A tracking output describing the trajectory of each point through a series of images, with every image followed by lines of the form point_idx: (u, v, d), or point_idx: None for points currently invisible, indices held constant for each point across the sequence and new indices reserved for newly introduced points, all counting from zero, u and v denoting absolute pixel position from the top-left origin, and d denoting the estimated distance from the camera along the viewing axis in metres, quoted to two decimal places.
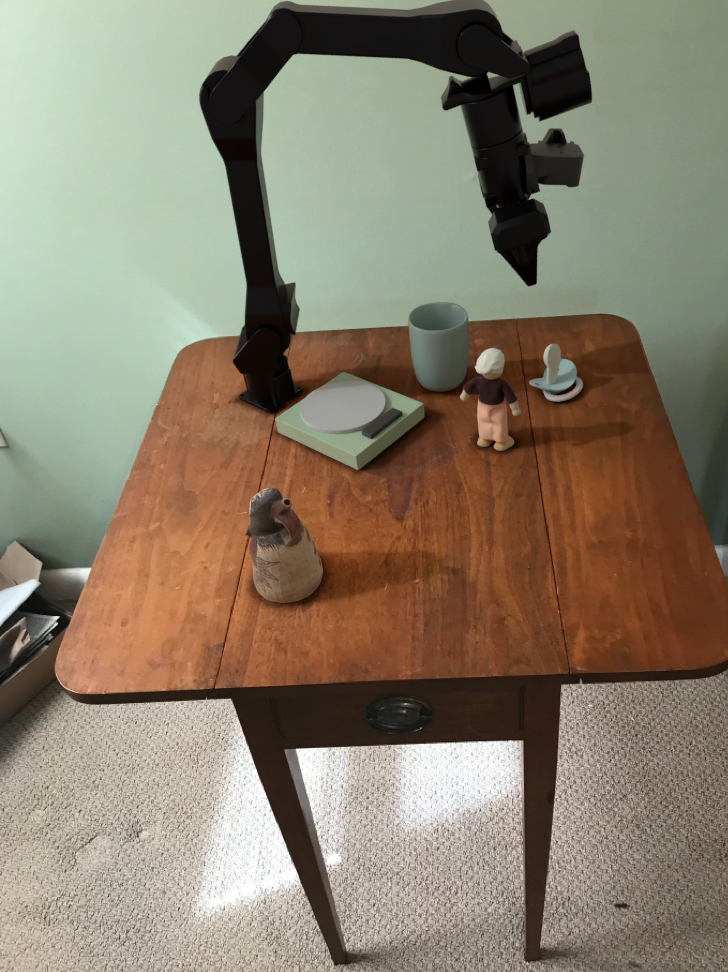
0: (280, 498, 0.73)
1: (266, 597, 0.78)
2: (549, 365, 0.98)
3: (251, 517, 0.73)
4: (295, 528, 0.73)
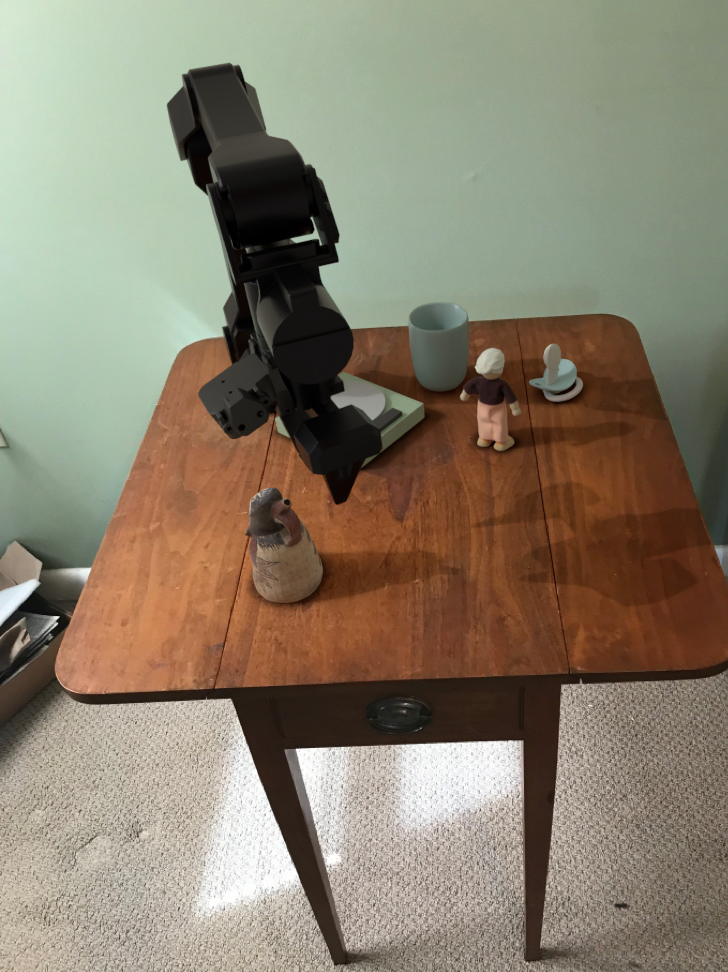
0: (280, 498, 0.73)
1: (266, 597, 0.78)
2: (549, 365, 0.98)
3: (251, 517, 0.73)
4: (295, 528, 0.73)
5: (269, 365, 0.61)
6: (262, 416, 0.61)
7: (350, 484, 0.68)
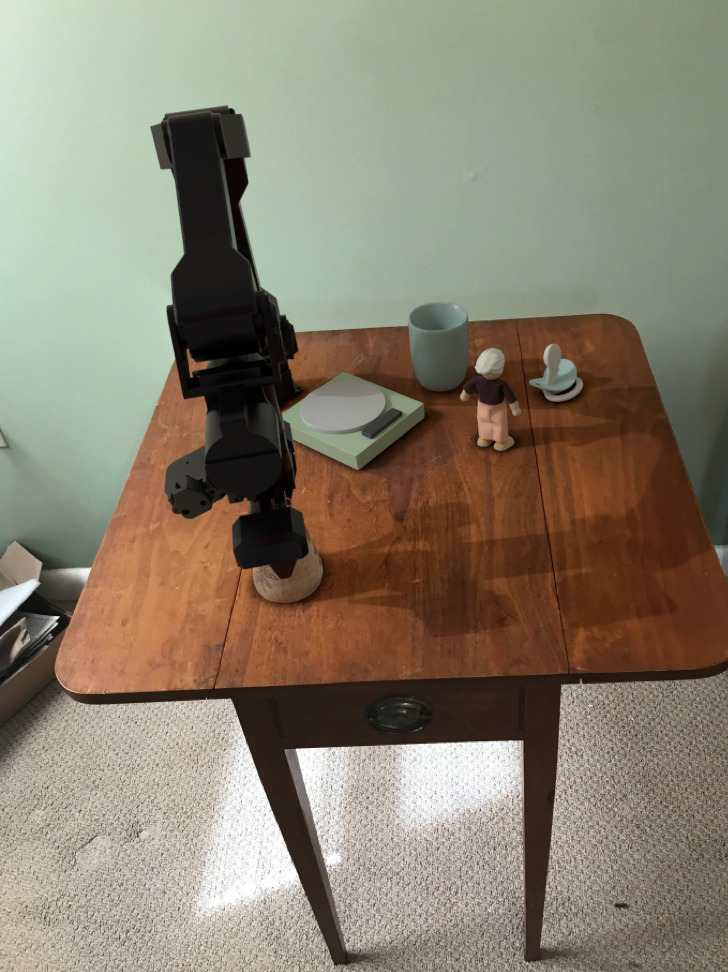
0: None
1: (266, 597, 0.78)
2: (549, 365, 0.98)
3: None
4: None
5: None
6: (205, 505, 0.66)
7: (291, 565, 0.73)
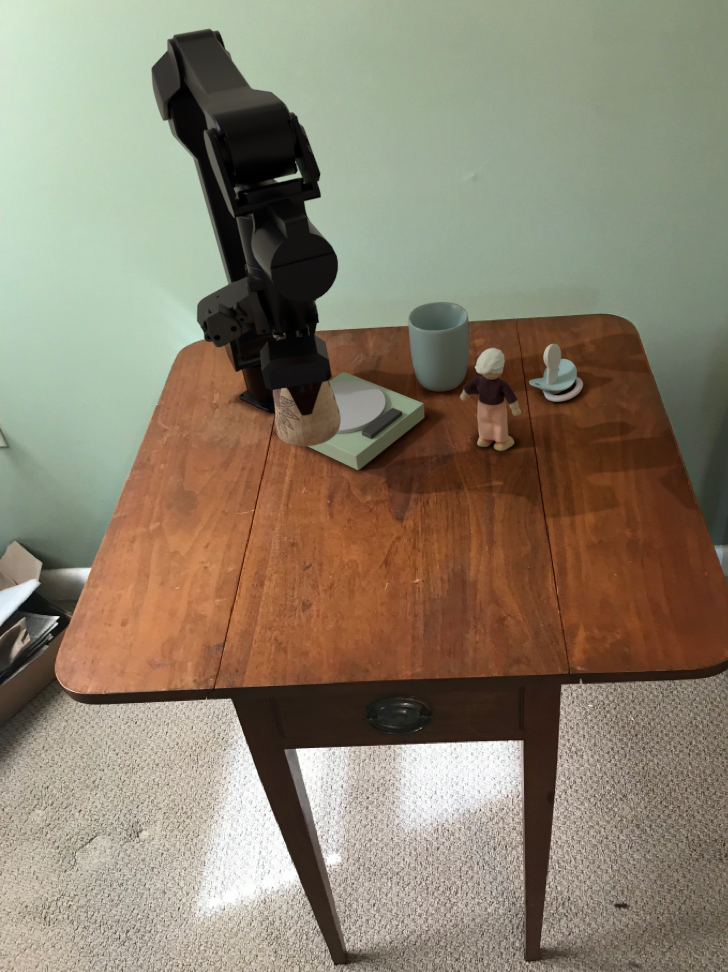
0: None
1: (287, 441, 0.83)
2: (549, 365, 0.98)
3: None
4: None
5: (248, 288, 0.71)
6: (235, 331, 0.71)
7: (312, 399, 0.78)
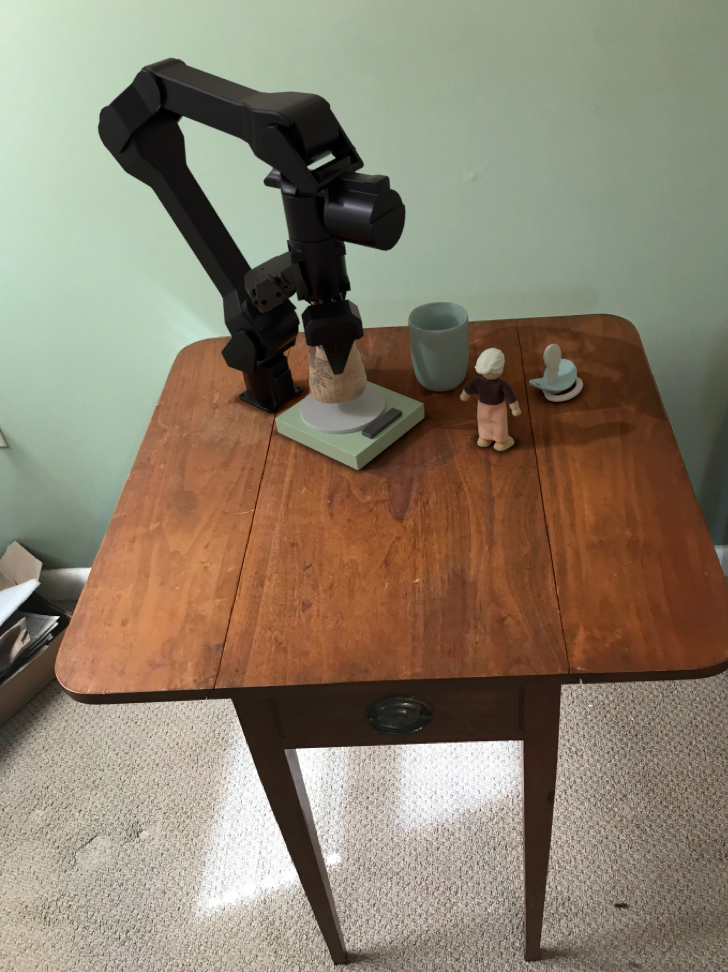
0: None
1: (320, 399, 0.94)
2: (549, 365, 0.98)
3: None
4: None
5: (291, 259, 0.82)
6: (280, 296, 0.82)
7: (344, 359, 0.89)
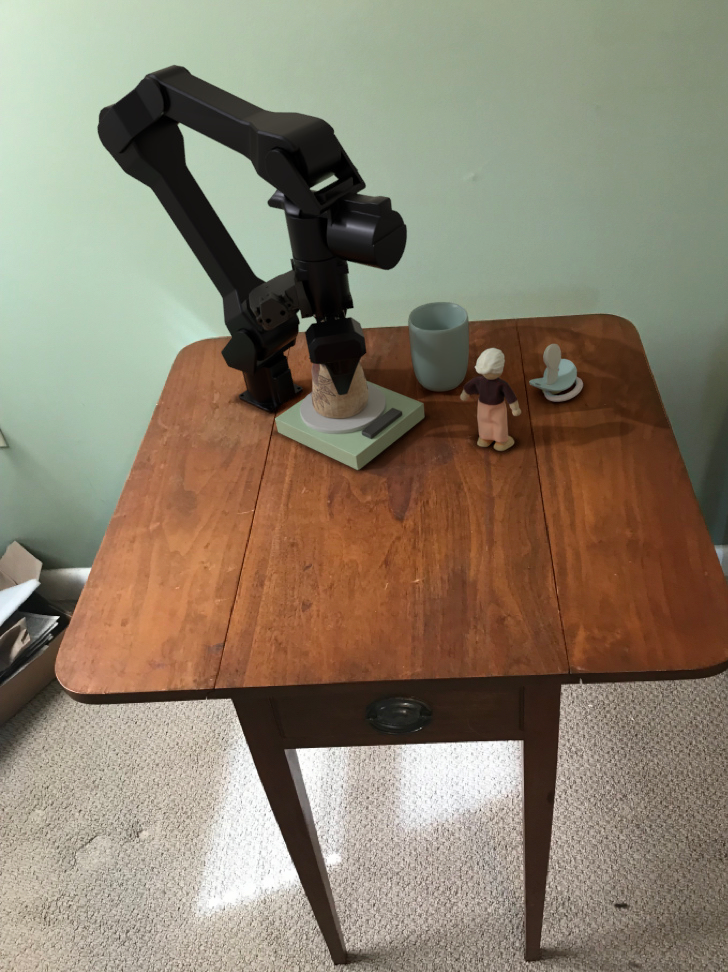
0: None
1: (323, 413, 0.96)
2: (549, 365, 0.98)
3: None
4: None
5: (295, 278, 0.83)
6: (284, 315, 0.84)
7: (349, 380, 0.89)
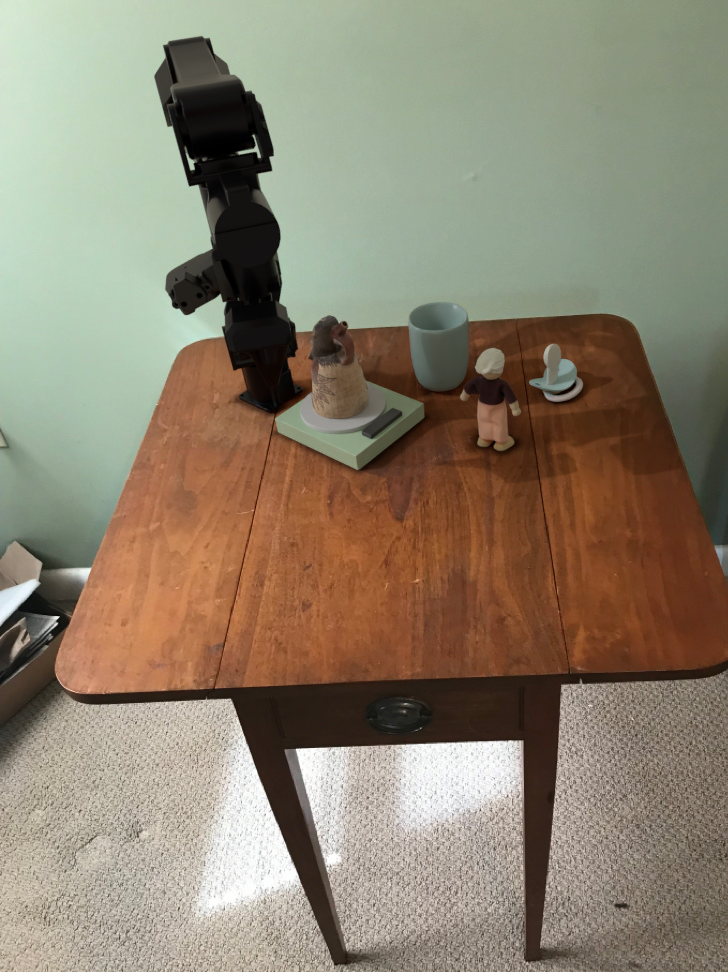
0: (338, 324, 0.91)
1: (323, 414, 0.96)
2: (549, 365, 0.98)
3: (315, 339, 0.90)
4: (350, 348, 0.91)
5: (213, 257, 0.75)
6: (201, 298, 0.76)
7: (278, 370, 0.81)
